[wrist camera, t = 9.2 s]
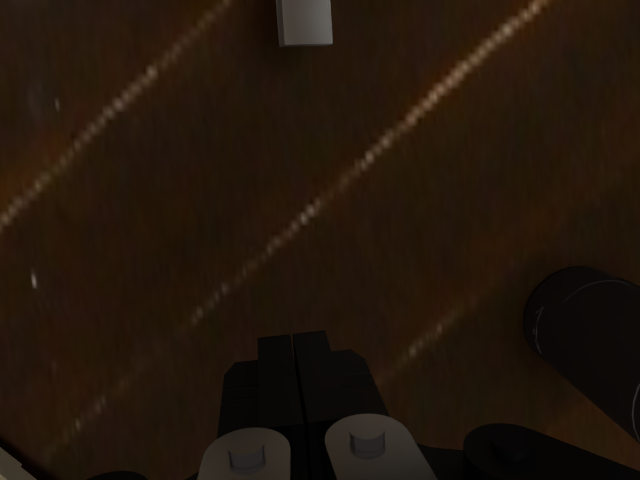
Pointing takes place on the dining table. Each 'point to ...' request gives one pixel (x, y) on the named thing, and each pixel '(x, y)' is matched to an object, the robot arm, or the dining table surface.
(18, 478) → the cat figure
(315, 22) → the chute
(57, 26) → the dining table surface
